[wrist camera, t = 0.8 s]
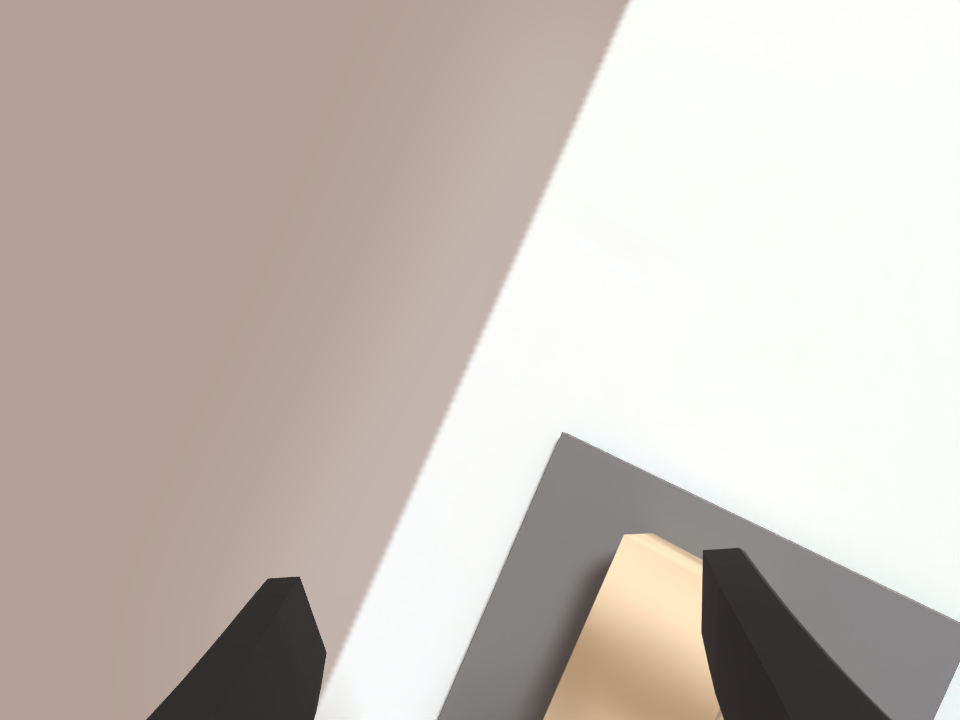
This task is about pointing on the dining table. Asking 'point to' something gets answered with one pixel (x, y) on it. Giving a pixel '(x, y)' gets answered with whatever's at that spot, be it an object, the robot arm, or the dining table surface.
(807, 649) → the robot arm
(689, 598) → the tan wooden block
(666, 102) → the dining table surface
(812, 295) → the dining table surface
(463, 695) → the mat
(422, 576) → the dining table surface
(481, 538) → the dining table surface
